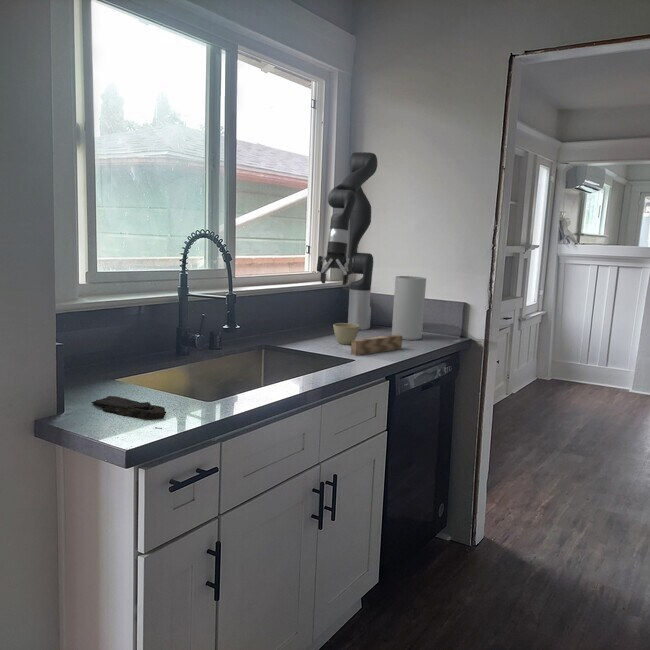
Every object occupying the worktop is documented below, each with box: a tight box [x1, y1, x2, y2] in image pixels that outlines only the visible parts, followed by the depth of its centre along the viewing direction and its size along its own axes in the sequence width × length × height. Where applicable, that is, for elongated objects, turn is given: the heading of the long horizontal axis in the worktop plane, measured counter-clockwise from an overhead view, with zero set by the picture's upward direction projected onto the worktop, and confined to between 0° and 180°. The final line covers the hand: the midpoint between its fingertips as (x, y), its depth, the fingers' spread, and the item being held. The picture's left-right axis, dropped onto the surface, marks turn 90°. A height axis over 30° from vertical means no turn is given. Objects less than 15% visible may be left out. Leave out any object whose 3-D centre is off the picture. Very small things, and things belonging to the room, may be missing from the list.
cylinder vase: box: [391, 275, 427, 341], centre depth 257 cm, size 12×12×25 cm
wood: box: [90, 395, 167, 421], centre depth 145 cm, size 22×8×3 cm, turn 59°
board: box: [350, 334, 403, 356], centre depth 227 cm, size 24×2×5 cm, turn 131°
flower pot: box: [333, 322, 359, 345], centre depth 239 cm, size 10×10×7 cm
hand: (333, 284), depth 239 cm, fingers open, 8 cm apart
